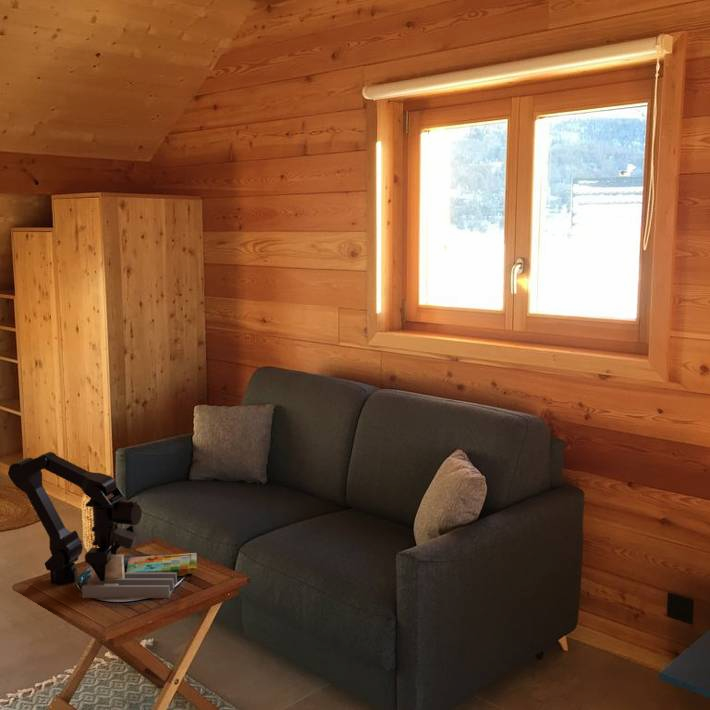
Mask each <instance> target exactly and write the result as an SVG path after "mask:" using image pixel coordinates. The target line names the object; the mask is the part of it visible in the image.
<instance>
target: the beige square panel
mask: <svg viewBox="0 0 710 710" xmlns="http://www.w3.org/2000/svg"><path fill="white" fill-rule="evenodd" d="M110 558H111V560H110V561H109V562H108V563H107V564H106V575H105V578H125V574H124V572H125V560H124V559H125V558H124V554H117V555H111V557H110ZM89 569H90V570H89V572H90V578H98V576H97V574H96V573H95V571H94V570H93V568H92V567H91V566H90V565H89Z"/></svg>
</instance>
